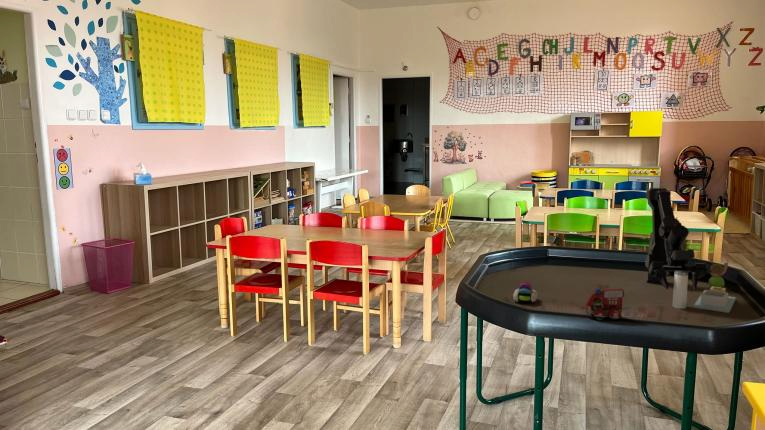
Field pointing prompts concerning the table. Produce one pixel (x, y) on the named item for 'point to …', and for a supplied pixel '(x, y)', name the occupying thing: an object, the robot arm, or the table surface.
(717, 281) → the snail figurine
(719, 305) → the fitting board
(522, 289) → the multicoloured small toy
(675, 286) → the white cylinder
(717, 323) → the table surface
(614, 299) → the toy fire truck
